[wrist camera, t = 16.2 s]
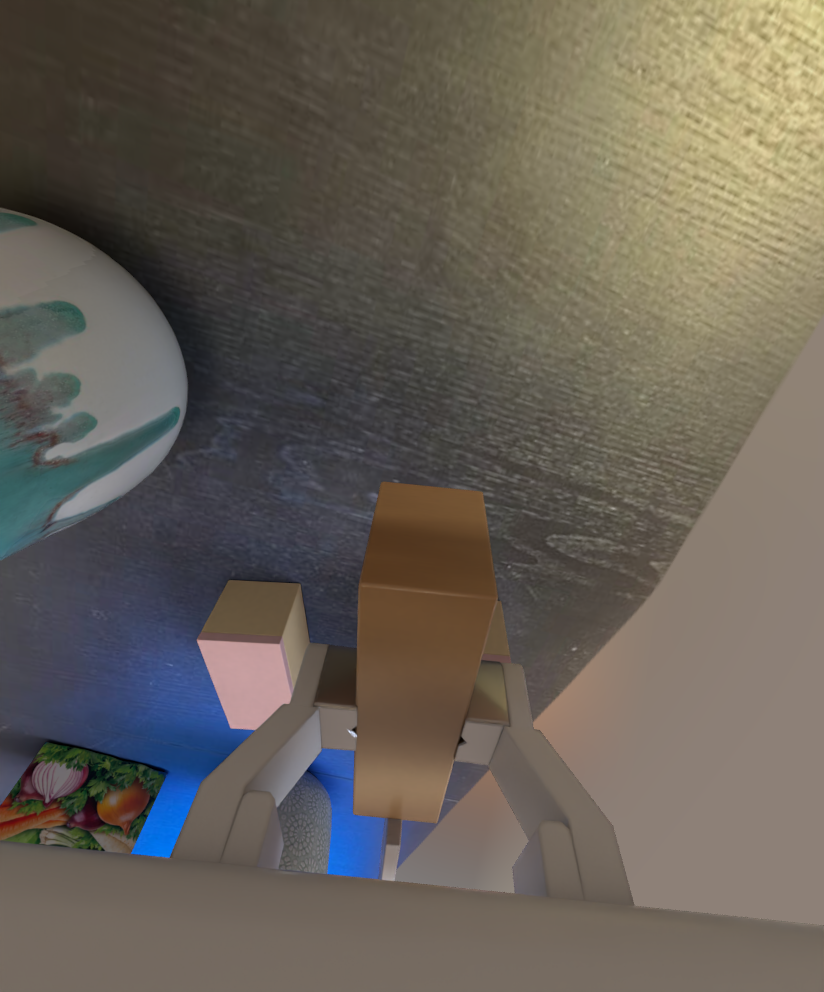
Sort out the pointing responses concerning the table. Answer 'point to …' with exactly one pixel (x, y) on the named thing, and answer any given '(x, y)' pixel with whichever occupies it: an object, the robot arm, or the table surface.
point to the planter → (305, 826)
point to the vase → (77, 381)
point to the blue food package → (80, 801)
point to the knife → (417, 650)
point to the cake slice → (255, 648)
